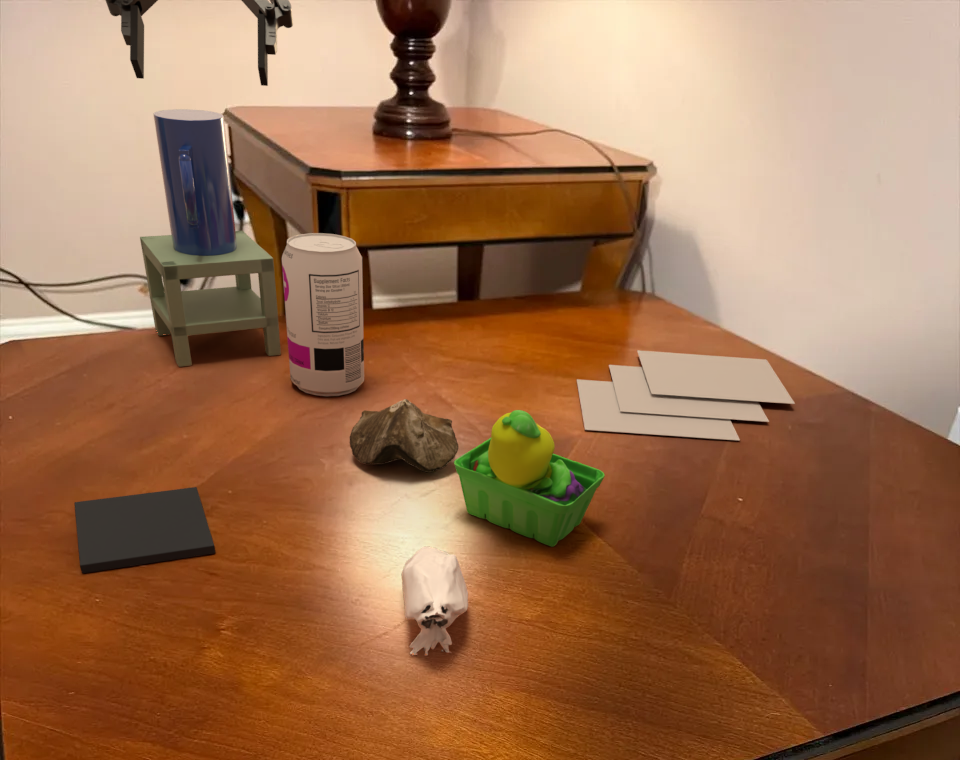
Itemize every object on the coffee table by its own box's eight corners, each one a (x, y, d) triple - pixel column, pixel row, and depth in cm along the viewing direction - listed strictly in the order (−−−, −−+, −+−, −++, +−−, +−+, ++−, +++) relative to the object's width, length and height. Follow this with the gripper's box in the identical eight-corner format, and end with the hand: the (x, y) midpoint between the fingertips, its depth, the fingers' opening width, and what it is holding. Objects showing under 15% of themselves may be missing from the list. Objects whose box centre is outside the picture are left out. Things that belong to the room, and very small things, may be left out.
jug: (178, 237, 101) (159, 107, 92) (240, 240, 101) (227, 111, 93) (163, 261, 93) (142, 122, 85) (230, 264, 94) (215, 126, 86)
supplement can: (279, 391, 95) (267, 246, 86) (308, 365, 101) (300, 228, 92) (349, 403, 94) (344, 257, 85) (374, 376, 100) (372, 237, 91)
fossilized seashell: (472, 431, 85) (383, 424, 89) (450, 386, 79) (357, 380, 83) (448, 496, 82) (358, 485, 86) (424, 454, 77) (328, 445, 80)
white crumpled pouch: (482, 662, 63) (460, 560, 69) (474, 605, 58) (450, 500, 64) (415, 674, 63) (398, 572, 69) (400, 618, 58) (384, 512, 63)
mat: (76, 510, 74) (74, 501, 73) (197, 494, 77) (196, 486, 76) (82, 573, 66) (79, 565, 66) (215, 553, 70) (214, 545, 69)
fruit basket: (600, 522, 77) (621, 402, 70) (551, 566, 71) (569, 439, 64) (493, 483, 82) (502, 366, 75) (439, 520, 76) (443, 397, 69)
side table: (178, 367, 99) (163, 266, 92) (155, 332, 107) (139, 236, 100) (281, 354, 104) (273, 258, 97) (251, 322, 112) (242, 230, 105)
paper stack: (816, 446, 93) (819, 439, 92) (584, 430, 92) (585, 423, 92) (765, 364, 111) (766, 359, 111) (571, 350, 110) (572, 345, 110)
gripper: (313, -61, 104) (316, 103, 102) (96, -78, 101) (94, 91, 99) (309, -122, 97) (311, 54, 94) (74, -142, 94) (71, 38, 91)
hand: (200, 73), depth 97 cm, fingers open, 13 cm apart
